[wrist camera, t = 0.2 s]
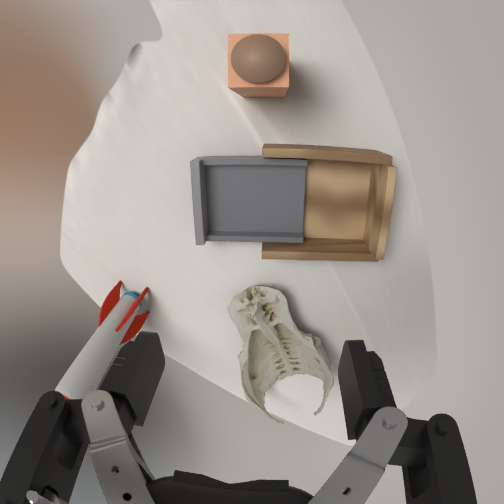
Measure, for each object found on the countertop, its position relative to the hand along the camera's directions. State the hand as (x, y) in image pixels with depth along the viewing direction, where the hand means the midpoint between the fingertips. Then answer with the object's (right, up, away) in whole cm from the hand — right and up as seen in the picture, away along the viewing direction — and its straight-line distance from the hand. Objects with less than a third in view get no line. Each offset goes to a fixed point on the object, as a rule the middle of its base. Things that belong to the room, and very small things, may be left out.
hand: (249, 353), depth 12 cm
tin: (+1, +25, +20) cm, 32 cm away
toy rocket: (-19, -3, +35) cm, 40 cm away
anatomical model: (+5, -11, +37) cm, 39 cm away
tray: (0, +11, +25) cm, 27 cm away
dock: (+9, +11, +25) cm, 29 cm away
